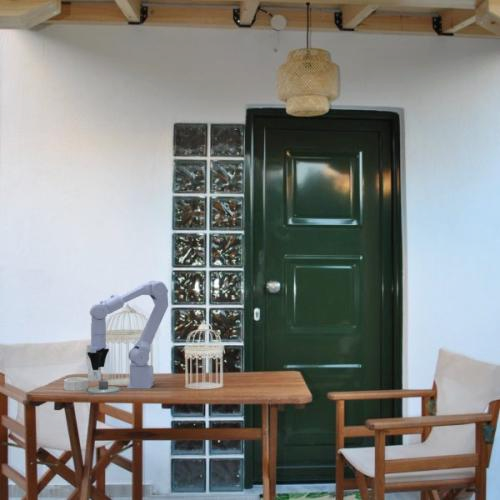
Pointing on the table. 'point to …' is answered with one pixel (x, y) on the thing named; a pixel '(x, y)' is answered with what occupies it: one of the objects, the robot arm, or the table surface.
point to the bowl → (75, 384)
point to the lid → (103, 388)
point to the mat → (103, 393)
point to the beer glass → (92, 374)
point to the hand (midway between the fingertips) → (98, 368)
